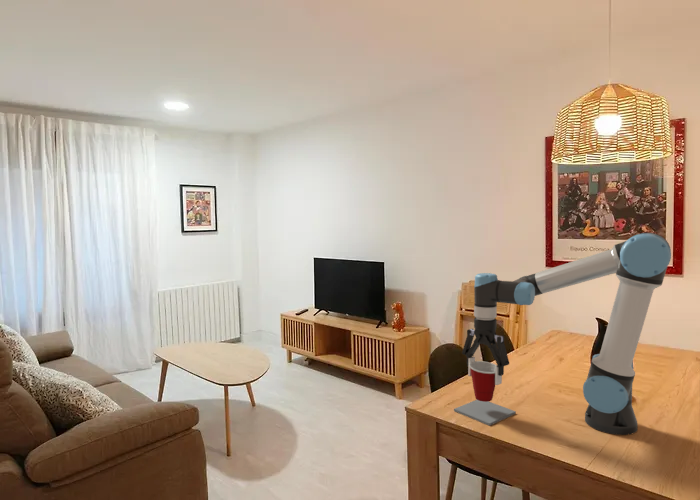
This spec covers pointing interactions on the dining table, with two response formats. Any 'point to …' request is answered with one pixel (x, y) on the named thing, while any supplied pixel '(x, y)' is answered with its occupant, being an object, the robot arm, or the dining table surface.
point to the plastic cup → (483, 379)
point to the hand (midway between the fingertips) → (484, 379)
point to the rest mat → (484, 412)
